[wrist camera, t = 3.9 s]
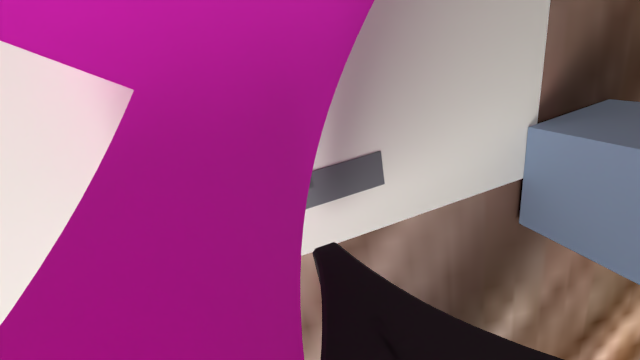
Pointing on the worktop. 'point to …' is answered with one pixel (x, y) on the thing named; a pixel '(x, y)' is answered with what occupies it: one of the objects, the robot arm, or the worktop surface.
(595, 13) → the worktop surface
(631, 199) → the blue cube
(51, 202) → the letter board
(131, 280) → the toy block
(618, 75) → the worktop surface
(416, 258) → the worktop surface
